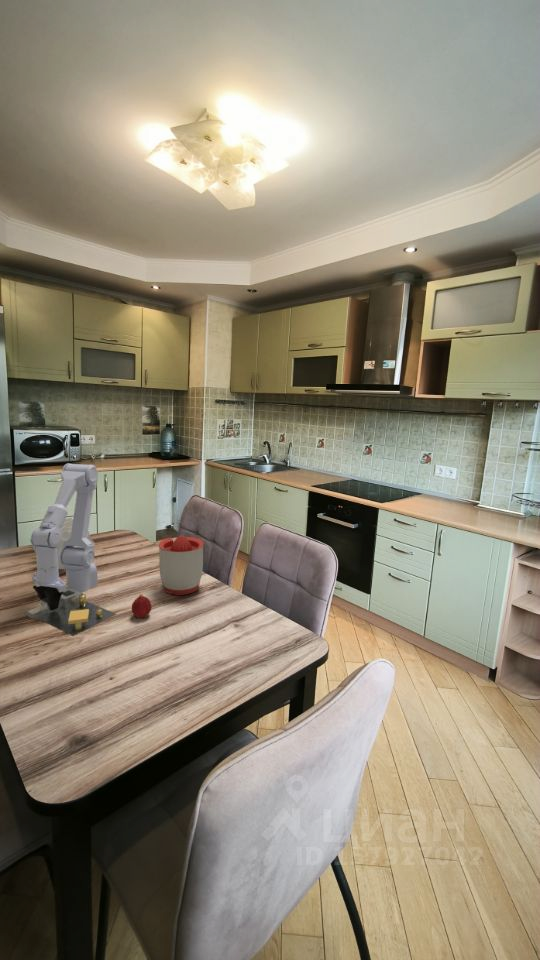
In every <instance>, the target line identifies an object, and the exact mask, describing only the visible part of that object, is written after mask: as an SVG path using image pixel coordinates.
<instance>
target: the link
mask: <svg viewBox="0 0 540 960" xmlns="http://www.w3.org/2000/svg"><path fill="white" fill-rule="evenodd" d="M81 594H83V592H80V591H78V590H75V589H73V588H67V587H66V590H65V591H63V593H62V595H61V598H60V602H59V606H58V608H57V609H60V608H62V607H64V608H68V607H70V606H72V605H75V604H77V603H79V595H81ZM57 609H55V610H57ZM55 610H53V611H55ZM53 611H51V610H50V607H49V601H48V598H47V597H46V598H43V599H41V600H40V599H39V606H37V607H35V608H32V609H29V610H27V613H26V614H27V617H29V618H30V619H32V620H35V619H37V617H40V616H42V615H44V614H48V613H50V612H53Z"/></svg>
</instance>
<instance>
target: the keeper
mask: <svg viewBox="0 0 540 960" xmlns="http://www.w3.org/2000/svg"><path fill="white" fill-rule="evenodd" d="M88 616H89V609H85V610H76V611H70V615H69V620H68V624H74V623H75V628H76V630H81V629H82V624H81V623H82V622H88Z"/></svg>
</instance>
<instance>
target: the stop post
mask: <svg viewBox="0 0 540 960" xmlns="http://www.w3.org/2000/svg"><path fill="white" fill-rule="evenodd" d="M96 617H97V618H101V617H102V609H97V610H96Z"/></svg>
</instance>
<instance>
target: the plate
mask: <svg viewBox="0 0 540 960" xmlns="http://www.w3.org/2000/svg"><path fill="white" fill-rule="evenodd" d="M85 609H89V616H88V622H82V623H81V624H82V629H81V630H76V628H75V623H74V624H68V620H69V615H70V611H76V610H85ZM97 609H102V617H101V618H97V617H96V610H97ZM26 614H27V612H26ZM116 615H117V613H116V612H113V611H111V610H108V609H106V608H103V607H101V606H98V605H96V604H93V603H91V602H89V601H87V600H86V606H85V607H79V603H77V604H75V605H72V606H70V607H68V608H64V607H62V608H60V609H57V610H55V611H53V612H50V613H48V614H44V615H42V616H40V617H37V618H36V619H38V620H40V621H41V622H44V623H46V624H47V625H49V626H51V627H54V628H56V629H58V630H60V631H62V632H64V633H66V634H68V635H70V636H73V637H74V636H77V635H78V634H81V633H82V632H86V630H88V629H90V628H92V627H95V626H96V625H98V624H100V623H102V622H105V621H107V620H109V619H110V618H113V617H114V616H116Z"/></svg>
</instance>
